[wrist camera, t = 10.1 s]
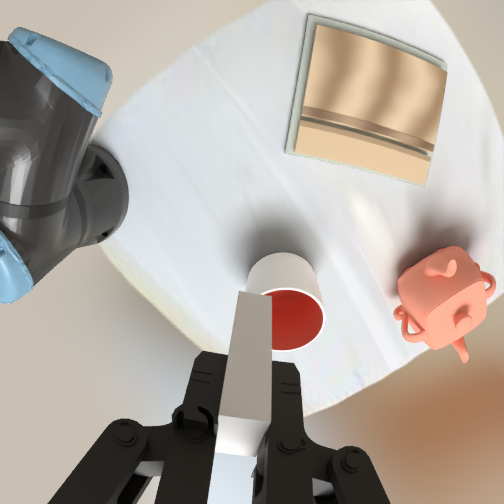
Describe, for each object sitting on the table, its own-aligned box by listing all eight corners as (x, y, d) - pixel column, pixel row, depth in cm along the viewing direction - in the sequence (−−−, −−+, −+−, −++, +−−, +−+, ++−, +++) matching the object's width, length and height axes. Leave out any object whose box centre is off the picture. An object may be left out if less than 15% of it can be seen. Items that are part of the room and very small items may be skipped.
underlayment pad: (284, 152, 35) (285, 154, 33) (307, 17, 27) (310, 11, 25) (421, 186, 36) (428, 190, 34) (443, 64, 28) (452, 62, 25)
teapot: (411, 222, 38) (455, 262, 27) (479, 252, 39) (520, 290, 28) (370, 305, 45) (394, 360, 33) (440, 321, 46) (468, 367, 34)
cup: (236, 292, 45) (229, 336, 36) (265, 237, 41) (264, 273, 32) (294, 315, 46) (299, 360, 37) (327, 266, 42) (341, 306, 33)
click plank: (300, 115, 32) (301, 115, 31) (315, 27, 27) (317, 24, 25) (428, 151, 32) (432, 153, 31) (442, 72, 27) (447, 71, 26)
